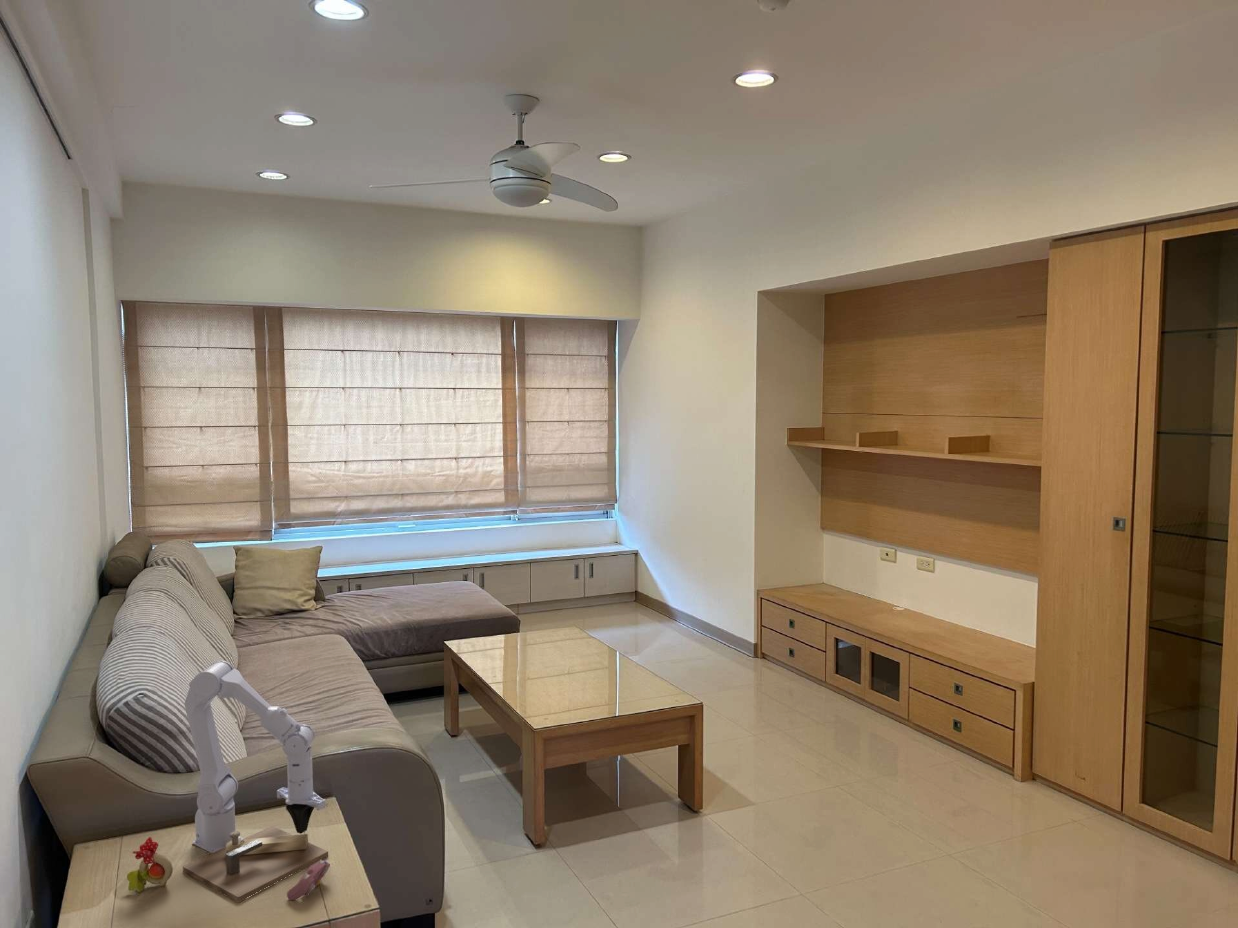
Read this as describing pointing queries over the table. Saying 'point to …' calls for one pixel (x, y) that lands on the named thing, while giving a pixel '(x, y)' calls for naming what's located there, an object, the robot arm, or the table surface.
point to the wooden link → (269, 843)
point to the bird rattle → (156, 872)
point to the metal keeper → (234, 855)
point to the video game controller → (309, 880)
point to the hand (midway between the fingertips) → (302, 831)
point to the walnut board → (253, 867)
